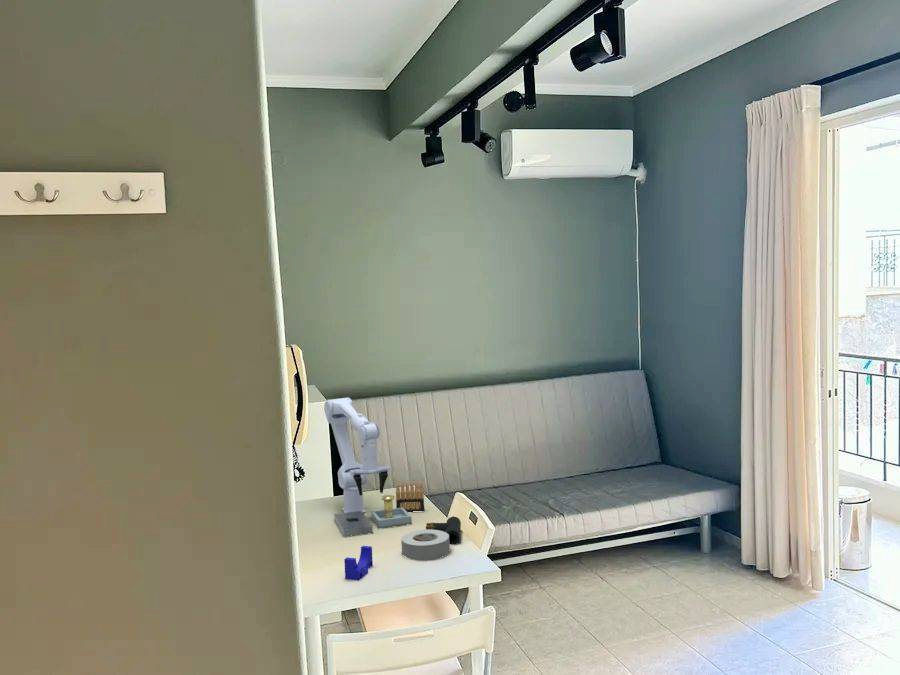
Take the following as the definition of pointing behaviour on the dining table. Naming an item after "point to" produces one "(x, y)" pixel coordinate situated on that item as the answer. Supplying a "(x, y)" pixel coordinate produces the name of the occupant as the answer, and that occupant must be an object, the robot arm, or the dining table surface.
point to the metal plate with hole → (353, 523)
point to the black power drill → (448, 528)
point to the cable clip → (359, 564)
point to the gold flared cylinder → (388, 506)
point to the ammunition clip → (410, 497)
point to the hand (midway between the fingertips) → (371, 493)
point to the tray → (398, 518)
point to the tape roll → (425, 544)
